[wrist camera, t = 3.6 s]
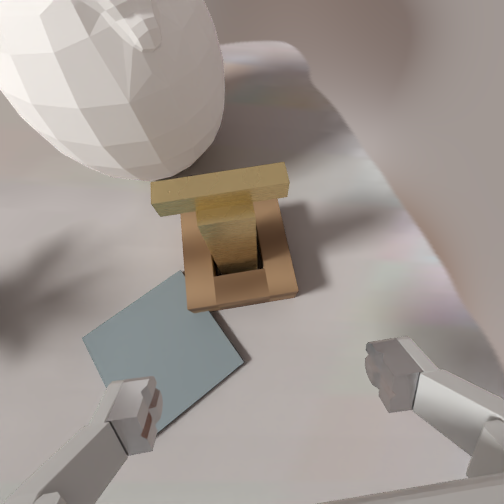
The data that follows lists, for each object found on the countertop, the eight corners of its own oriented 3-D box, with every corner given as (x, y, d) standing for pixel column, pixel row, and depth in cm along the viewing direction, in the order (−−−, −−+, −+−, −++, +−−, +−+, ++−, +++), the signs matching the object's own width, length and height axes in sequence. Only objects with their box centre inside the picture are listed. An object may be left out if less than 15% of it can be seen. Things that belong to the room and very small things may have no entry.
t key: (278, 269, 27) (293, 197, 15) (202, 281, 27) (151, 220, 14) (271, 238, 29) (280, 148, 16) (199, 249, 28) (150, 167, 16)
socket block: (294, 297, 26) (298, 291, 23) (195, 314, 26) (187, 309, 23) (275, 211, 30) (276, 196, 27) (187, 225, 29) (180, 211, 27)
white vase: (140, 244, 29) (-375, -216, 5) (62, 148, 34) (-369, -296, 11) (264, 151, 33) (273, -341, 10) (177, 78, 38) (47, -355, 15)
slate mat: (244, 362, 24) (243, 362, 24) (139, 447, 22) (136, 450, 22) (181, 271, 28) (180, 270, 27) (85, 338, 25) (81, 338, 25)
